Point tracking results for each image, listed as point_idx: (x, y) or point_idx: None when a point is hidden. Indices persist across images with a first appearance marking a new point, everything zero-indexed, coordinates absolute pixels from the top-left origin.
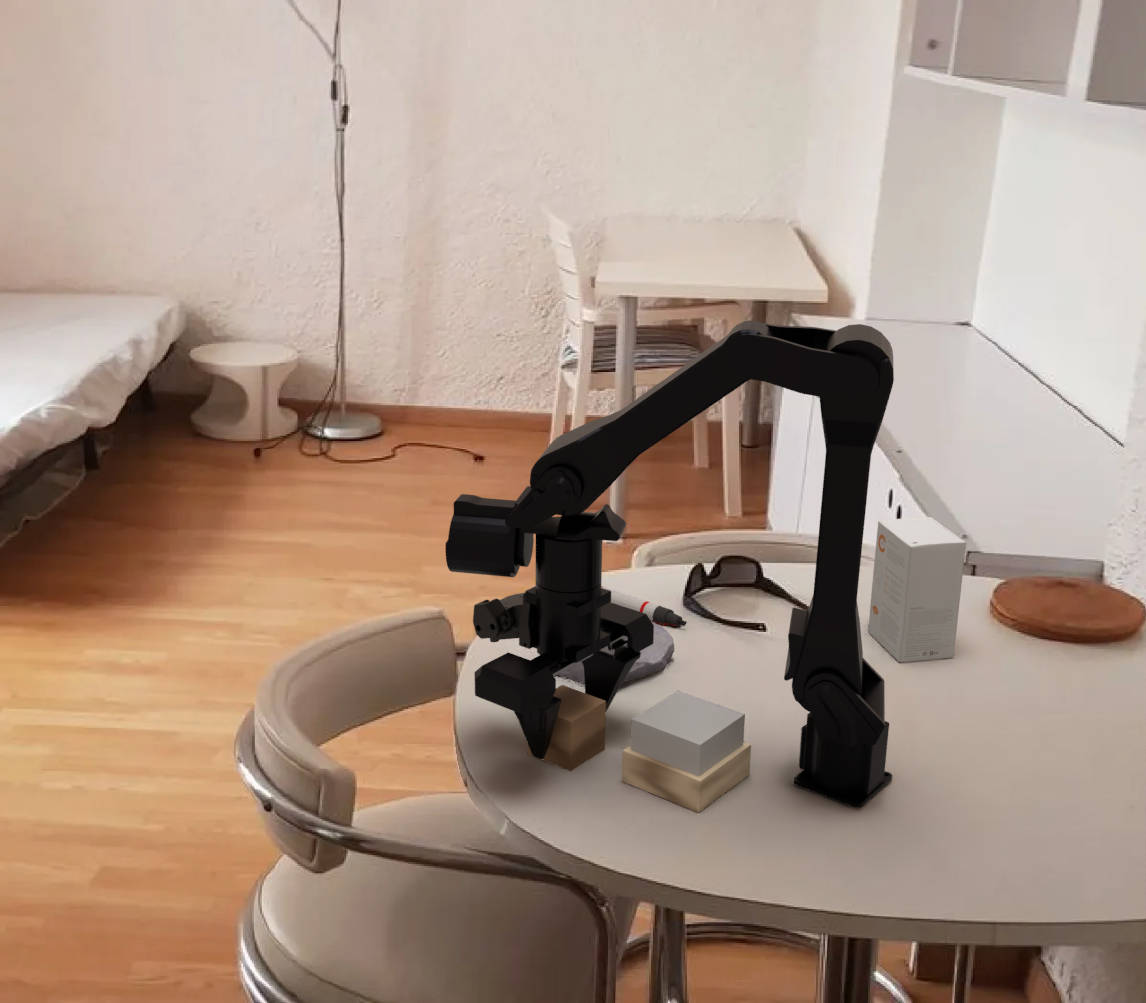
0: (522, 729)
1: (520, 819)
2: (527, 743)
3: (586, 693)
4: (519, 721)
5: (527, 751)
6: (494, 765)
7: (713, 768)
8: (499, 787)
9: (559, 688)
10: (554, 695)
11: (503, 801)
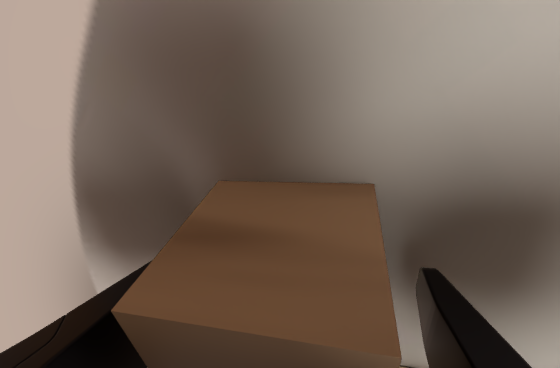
0: (85, 304)
1: (97, 285)
2: (206, 197)
3: (470, 366)
4: (45, 330)
5: (217, 183)
6: (123, 158)
7: None
8: (100, 218)
9: (346, 359)
10: (265, 361)
11: (90, 246)
